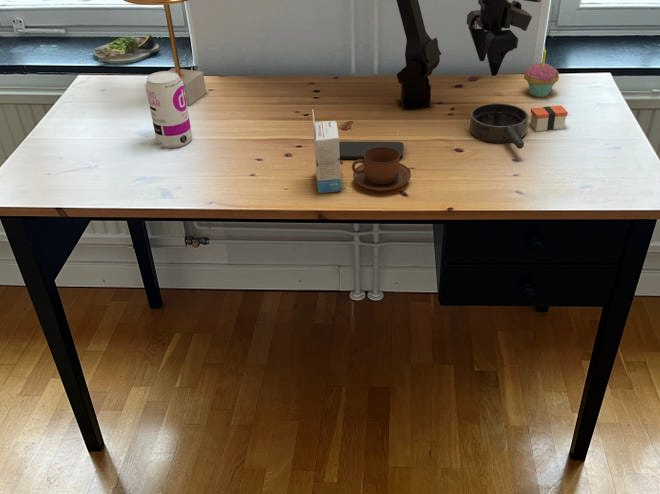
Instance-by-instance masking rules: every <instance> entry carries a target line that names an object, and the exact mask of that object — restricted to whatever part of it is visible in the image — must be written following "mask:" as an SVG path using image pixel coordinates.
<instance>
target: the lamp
mask: <svg viewBox="0 0 660 494" xmlns="http://www.w3.org/2000/svg"><path fill="white" fill-rule="evenodd" d="M123 1H124V2H125V3H130V4H132V5H133V4H134V5H141V6H162V5H163V8H164V14H165V19H166V25H167V30H168V36H169V41H170V47H171V48H170V49H171V53H172V60H173V65H174V67H172V68H170V69H169V70H168V71H172V72H176V73H178V75H179V77H180V78H181V80H182V81H183V85H184V91H185V97H186V102H187V106H191V105H192V104H194V103H195V102H196V101H198V100H199V99H200V98H202V97H203V96H205V95H206V94H207V88H206V81H205V74H204V72H203V71H200V70H192V69H185V68H181V64H180V58H179V53H178V46H177V42H176V35H175V30H174V23H173V18H172V11H171V7H170V5H173V4H179V3H184V2H188V1H189V0H123Z"/></svg>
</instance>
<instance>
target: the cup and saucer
mask: <svg viewBox="0 0 660 494" xmlns="http://www.w3.org/2000/svg"><path fill="white" fill-rule="evenodd" d="M400 161H401V159H400V154H399V152H398V151H397V150H395V149H393V148H389V147H375V148H371V149H369V150H367V151H366V152H365V153H364V159H355V160H354V161H353V162H352V164H351V170H352V171H353V172H352V178H353V180H354V182H355V183H356V184H358V185H359V186H361V188H365V189H367V190H369V191H378V192H380V191H381V192H383V191H384V192H385V191H386V192H387V191H393V190H396V189H398V188H399V189H400V188H401V187H403V186H404V185H406V184H407V183H408V182H409V181H410V179H411V175H412V173H411V172H412V171H411V170H410V168H409V167H408V166H406V165H405V164H403V163H401V162H400ZM357 164H360V165H359V166H356V165H357Z"/></svg>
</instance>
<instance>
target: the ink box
mask: <svg viewBox="0 0 660 494" xmlns="http://www.w3.org/2000/svg"><path fill="white" fill-rule="evenodd" d="M311 110H312V111H311V114H312V125H313V126H312V128H313V129H312V131H313V146H314V163H315V175H316V183H317V192H318V193H319V194H322V193H324V194H325V193H334V192H335V193H337V192H341V191H342V177H341V159H340V151H339V142H340V136H339V129H338V124H337V121H336V120H327V121H316V122H315V120H316V119H315V113H314V111H315V110H314V108H312V109H311Z"/></svg>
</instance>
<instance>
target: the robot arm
mask: <svg viewBox="0 0 660 494" xmlns="http://www.w3.org/2000/svg"><path fill="white" fill-rule="evenodd" d="M524 1H525V2H533V3H541V1H542V0H524ZM396 4H397V8H398V12H399V15H400V20H401V23H402V27H403V31H404V36H405V39H406V43H405V51H404V58H405V59H404V60H405V66H404V67H403V68H402V69H401V70H400V71H399V72H397V73H396V78H397V82H398V83H399V84H400V88H401V89H400V97H399V98H398V100H399V102H400V104H401V106H402V107H403V109H404V110H413V109H421V108H422V109H423V108H430V107H431V104H430V102H431V96H432V93H431V92H432V84H431V83H430V78H428V77H430V76H431V75H432V74H433V71H434V70H435V69H437V67H439V64H440V62H441V61H440V60H441V57H440V56H441V55H442V52H441V50H440V47H439V40H438V38H437V37H434V38H432V37H430V35H429V34H428V33H427V30H426V26H425V22H424V17H423V14H422V11H421V7H420V2H419V0H396ZM477 4H478V5H479V6H480V9H477V10H471V11H470V12H469V13H468V14H467V15H466V25H467V26H468V30H469V33H470V36H471V39H472V42H473V45H474V48H475V51H476V54H477V57H478V60H479V62H484V61H486V57H487V62H488V66H489V70H490V75H491V76H492V77H496V76H497V75H498V73H499V70H500V68H501V66H502V63H503V61H504V59H505V57H506V55H507V54H508V53H509V52H512V51H514V49H517V48H518V45H519V37H517V36H516V34H514V32H512V30H511V26H512V27H515V28H519V29H521V31H524V32H527V31H528V28H529V26H530V23H531V21H532V18H533V15H532V14H531V13H529V12H528V11H527V10H525V9H523V8H522V3H521V2H520V1H517V0H512V1H511V2H510V1H509V0H477Z"/></svg>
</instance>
